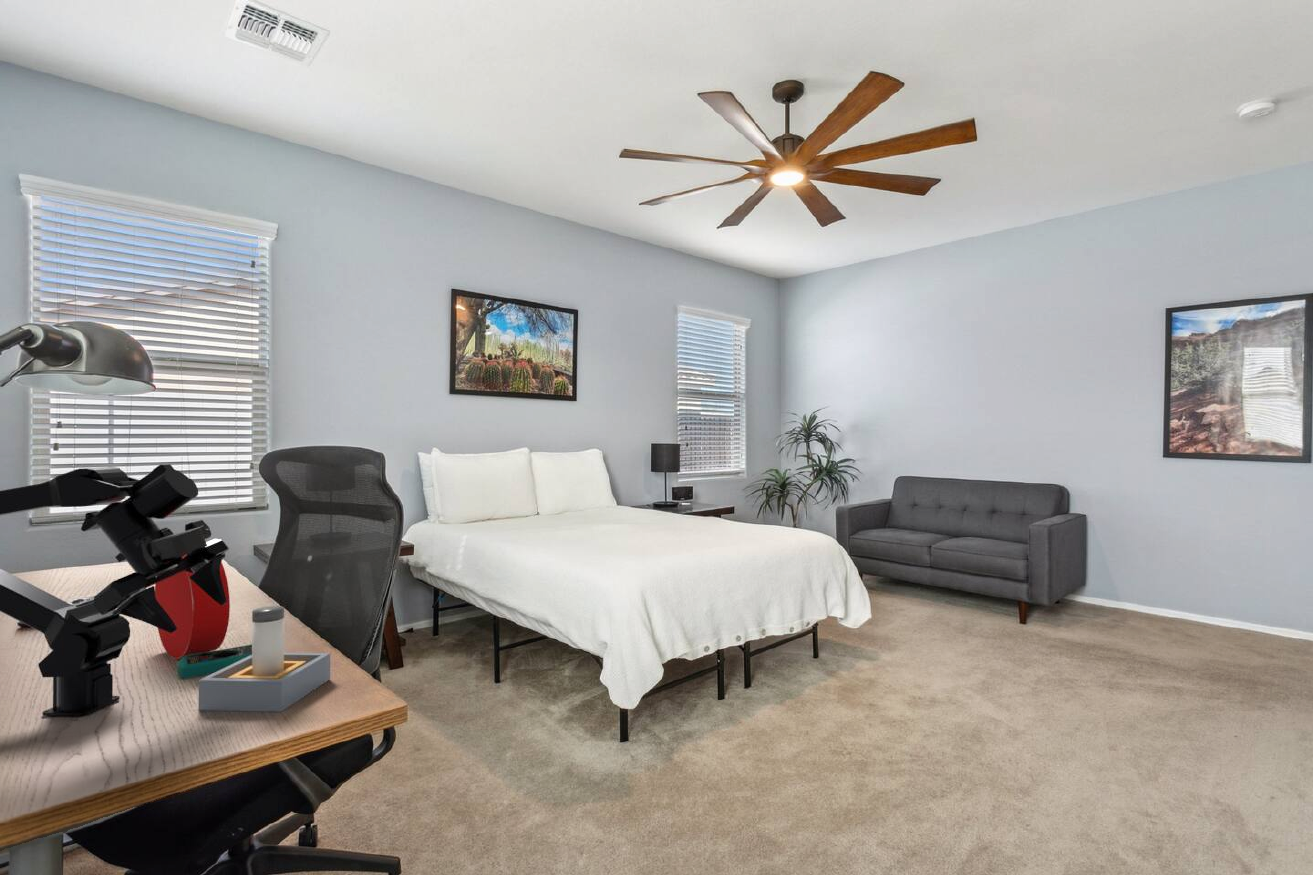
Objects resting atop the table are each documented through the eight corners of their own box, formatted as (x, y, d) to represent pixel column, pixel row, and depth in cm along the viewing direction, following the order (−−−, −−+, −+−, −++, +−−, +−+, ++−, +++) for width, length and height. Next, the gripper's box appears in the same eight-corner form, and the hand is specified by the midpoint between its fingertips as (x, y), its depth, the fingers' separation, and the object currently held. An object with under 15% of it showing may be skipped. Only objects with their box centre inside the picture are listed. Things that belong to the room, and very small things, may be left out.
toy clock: (229, 659, 119) (230, 552, 119) (192, 668, 114) (193, 557, 115) (189, 640, 131) (189, 543, 131) (154, 648, 126) (154, 547, 126)
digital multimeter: (177, 670, 115) (177, 654, 115) (273, 653, 124) (273, 638, 124) (177, 682, 109) (177, 665, 109) (278, 664, 118) (278, 648, 118)
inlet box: (198, 710, 97) (198, 680, 97) (256, 678, 110) (256, 652, 110) (281, 711, 96) (281, 681, 96) (330, 679, 109) (330, 653, 109)
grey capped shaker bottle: (250, 694, 100) (250, 614, 100) (253, 685, 104) (253, 607, 104) (283, 689, 102) (283, 610, 102) (284, 680, 106) (284, 604, 106)
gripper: (108, 529, 88) (180, 619, 89) (219, 492, 106) (278, 567, 107) (61, 570, 90) (131, 657, 91) (178, 527, 108) (235, 600, 109)
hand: (200, 616), depth 100 cm, fingers open, 9 cm apart
